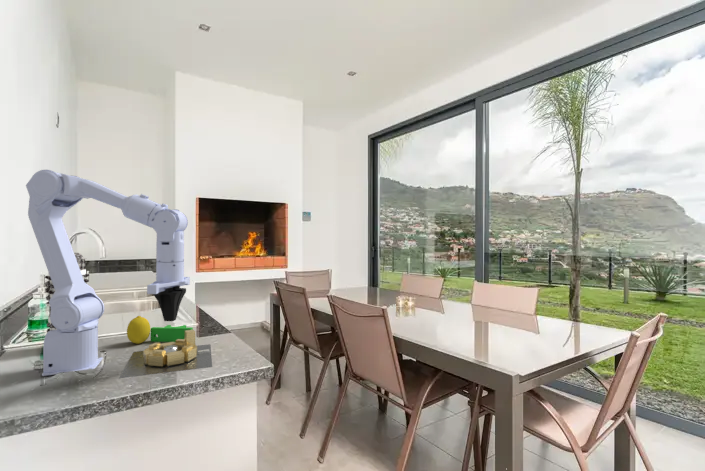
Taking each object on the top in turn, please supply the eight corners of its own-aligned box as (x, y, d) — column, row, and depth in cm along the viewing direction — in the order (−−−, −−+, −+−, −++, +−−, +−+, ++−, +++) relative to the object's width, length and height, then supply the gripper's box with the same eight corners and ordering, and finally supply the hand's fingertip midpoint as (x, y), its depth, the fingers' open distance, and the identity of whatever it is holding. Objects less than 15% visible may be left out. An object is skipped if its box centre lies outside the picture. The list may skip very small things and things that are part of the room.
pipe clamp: (196, 341, 106) (197, 325, 106) (190, 345, 102) (191, 328, 102) (157, 340, 106) (157, 324, 106) (150, 344, 102) (150, 327, 102)
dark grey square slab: (119, 380, 77) (119, 364, 77) (133, 354, 93) (133, 340, 93) (212, 369, 83) (212, 354, 83) (210, 346, 100) (210, 333, 100)
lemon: (154, 344, 102) (154, 315, 101) (133, 349, 97) (133, 319, 97) (143, 341, 105) (144, 312, 105) (122, 345, 100) (123, 316, 100)
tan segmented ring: (148, 369, 81) (148, 343, 81) (141, 355, 90) (141, 332, 89) (201, 359, 87) (201, 335, 87) (189, 347, 96) (189, 325, 96)
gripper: (170, 264, 78) (169, 329, 78) (201, 259, 93) (201, 314, 93) (137, 263, 78) (137, 328, 78) (174, 259, 93) (173, 313, 93)
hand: (170, 320), depth 86 cm, fingers closed
